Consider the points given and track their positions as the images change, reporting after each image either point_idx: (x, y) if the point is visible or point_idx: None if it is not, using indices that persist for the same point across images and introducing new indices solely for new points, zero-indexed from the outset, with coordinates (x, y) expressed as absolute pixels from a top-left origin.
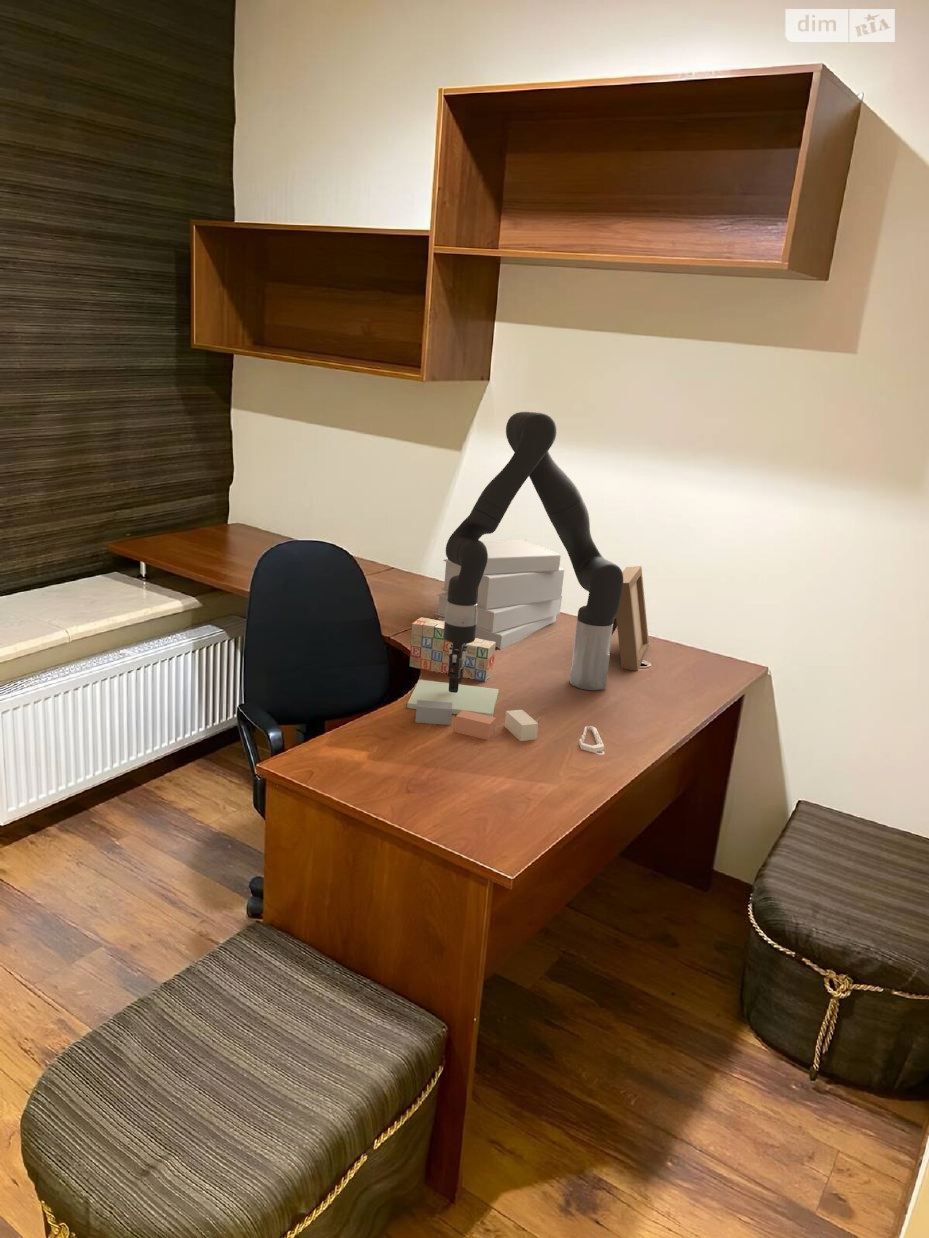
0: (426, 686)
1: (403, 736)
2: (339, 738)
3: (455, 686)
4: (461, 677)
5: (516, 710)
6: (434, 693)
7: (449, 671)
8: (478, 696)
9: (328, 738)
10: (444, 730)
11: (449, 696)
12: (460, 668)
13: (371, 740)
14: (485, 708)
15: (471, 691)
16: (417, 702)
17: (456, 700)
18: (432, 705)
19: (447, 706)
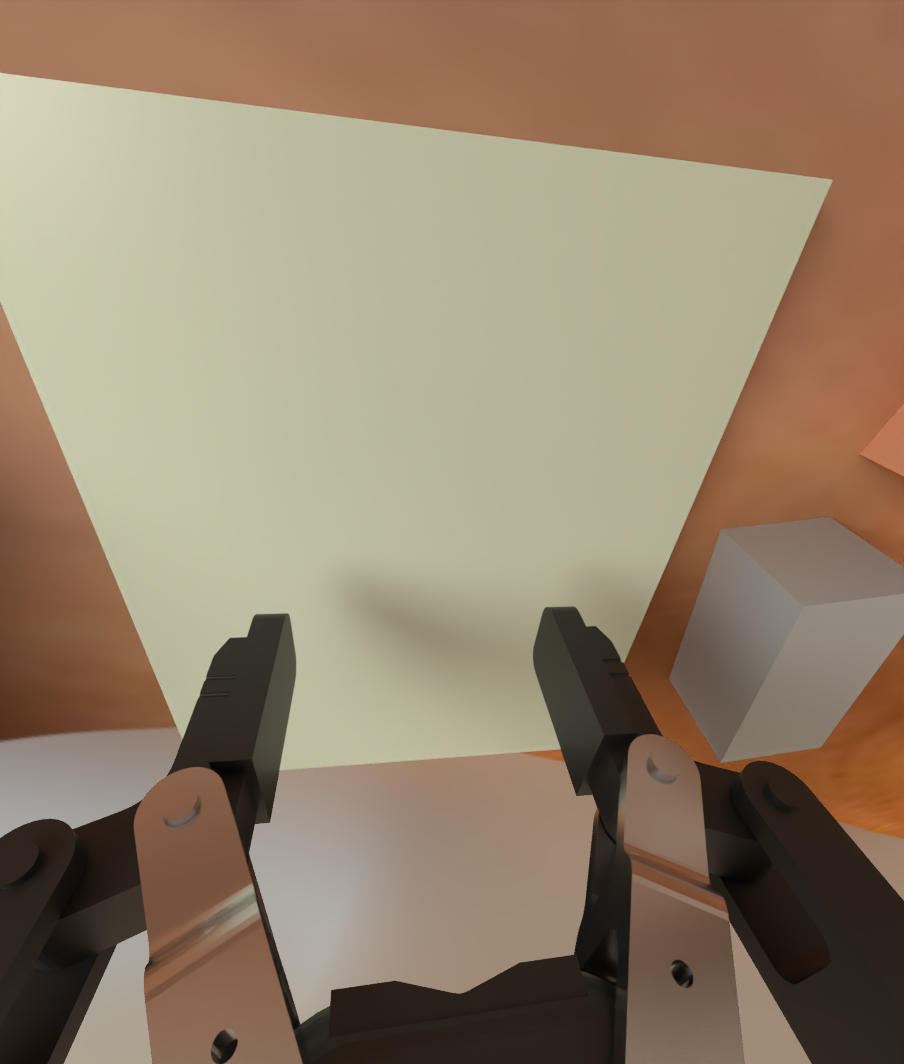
0: (299, 730)
1: (896, 674)
2: (841, 799)
3: (620, 669)
4: (279, 653)
5: None
6: (408, 680)
7: (801, 912)
8: (351, 375)
9: (832, 815)
10: (898, 537)
11: (434, 600)
12: (696, 878)
13: (890, 742)
14: (680, 276)
15: (240, 457)
16: (761, 755)
17: (506, 548)
18: (825, 694)
19: (869, 621)
